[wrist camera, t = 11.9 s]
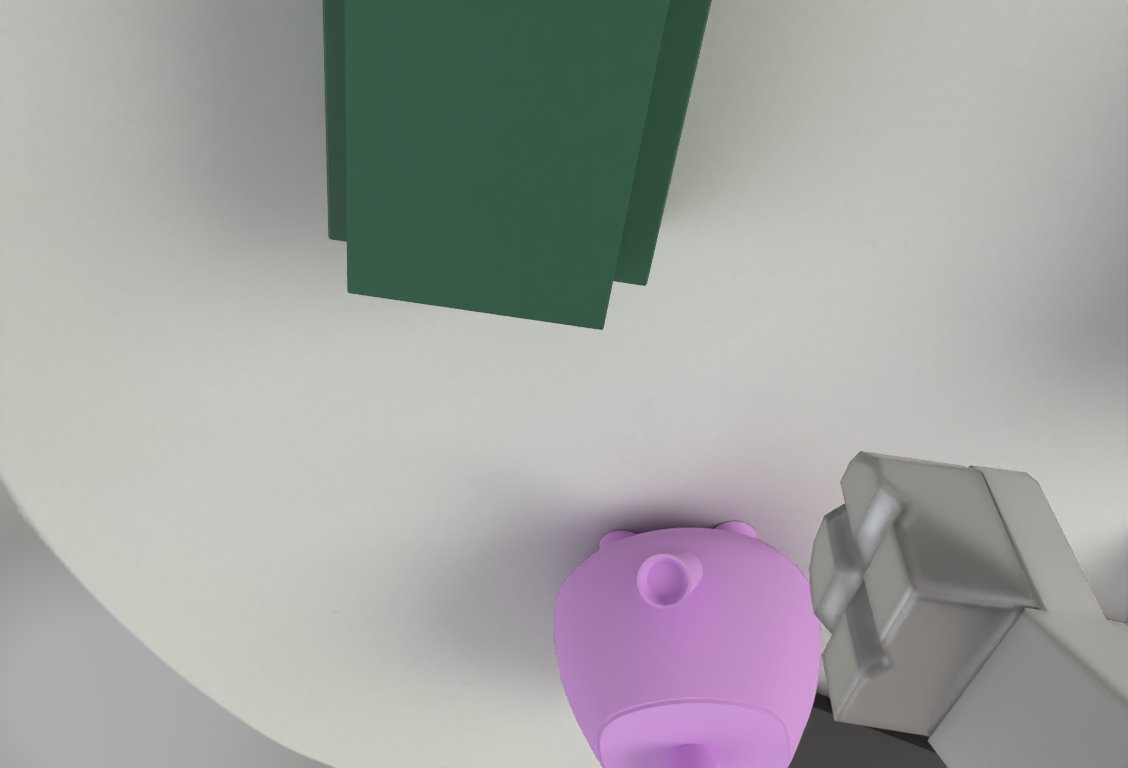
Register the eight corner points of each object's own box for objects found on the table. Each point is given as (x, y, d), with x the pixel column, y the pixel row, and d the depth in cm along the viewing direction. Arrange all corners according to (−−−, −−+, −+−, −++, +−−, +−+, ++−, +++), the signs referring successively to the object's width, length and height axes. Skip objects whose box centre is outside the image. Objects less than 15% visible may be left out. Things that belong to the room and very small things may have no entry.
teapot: (585, 678, 43) (576, 883, 36) (521, 441, 34) (493, 650, 27) (810, 665, 42) (849, 877, 34) (805, 414, 33) (857, 628, 25)
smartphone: (913, 838, 49) (678, 759, 45) (908, 821, 50) (677, 741, 46) (1017, 778, 45) (769, 685, 41) (1010, 760, 46) (766, 667, 42)
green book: (373, -369, 17) (339, -375, 15) (718, -308, 17) (731, -306, 15) (369, 244, 25) (346, 293, 23) (605, 279, 25) (603, 330, 23)
